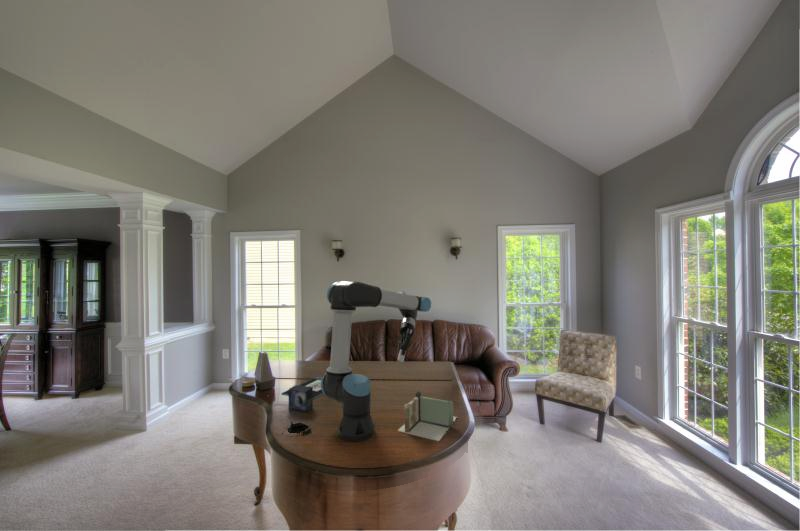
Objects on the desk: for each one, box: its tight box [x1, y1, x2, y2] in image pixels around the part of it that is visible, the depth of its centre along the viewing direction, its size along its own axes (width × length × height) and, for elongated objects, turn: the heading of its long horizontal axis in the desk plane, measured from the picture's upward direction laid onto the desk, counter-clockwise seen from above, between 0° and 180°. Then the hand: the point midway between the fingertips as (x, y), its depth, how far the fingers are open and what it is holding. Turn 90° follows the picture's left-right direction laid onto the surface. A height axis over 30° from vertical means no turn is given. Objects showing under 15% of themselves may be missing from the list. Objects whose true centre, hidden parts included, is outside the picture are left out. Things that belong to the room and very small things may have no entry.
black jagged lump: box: [287, 421, 312, 436], centre depth 141 cm, size 12×10×5 cm
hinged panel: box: [420, 396, 454, 427], centre depth 146 cm, size 15×2×10 cm, turn 64°
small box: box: [288, 384, 314, 413], centre depth 165 cm, size 11×6×10 cm, turn 73°
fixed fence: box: [404, 390, 422, 432], centre depth 145 cm, size 14×3×14 cm, turn 153°
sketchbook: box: [281, 376, 325, 400], centre depth 194 cm, size 22×30×2 cm
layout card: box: [397, 415, 458, 442], centre depth 147 cm, size 24×19×1 cm
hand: (400, 360), depth 156 cm, fingers closed
